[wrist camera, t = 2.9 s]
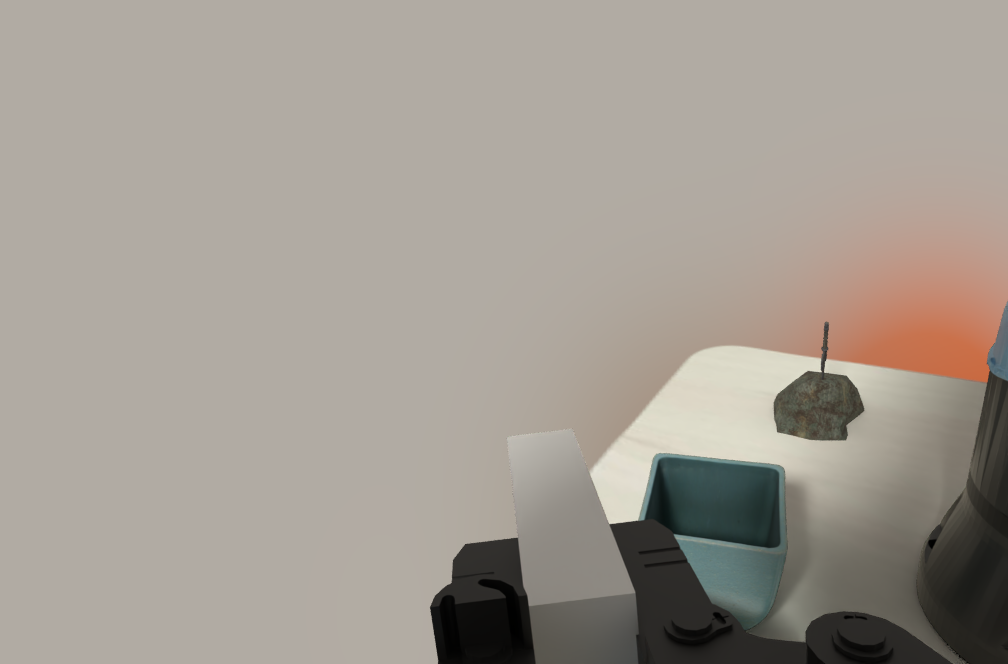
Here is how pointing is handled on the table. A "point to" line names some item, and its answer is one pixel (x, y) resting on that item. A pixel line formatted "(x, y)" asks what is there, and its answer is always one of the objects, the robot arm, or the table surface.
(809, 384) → the sword in stone
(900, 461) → the table surface
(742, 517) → the flower pot
